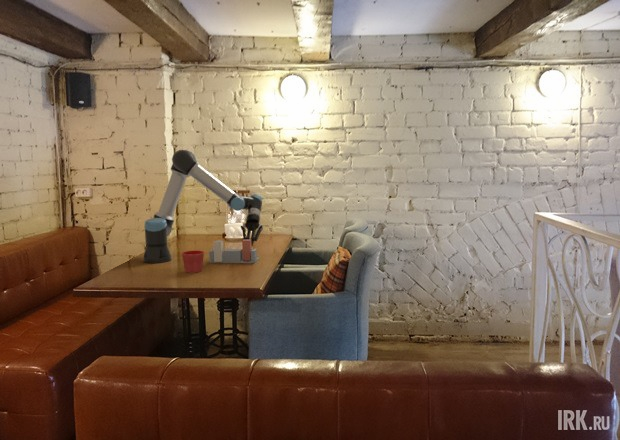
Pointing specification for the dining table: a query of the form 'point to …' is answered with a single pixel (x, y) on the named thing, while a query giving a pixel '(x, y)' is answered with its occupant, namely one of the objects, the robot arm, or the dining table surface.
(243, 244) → the red plug
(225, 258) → the slot block
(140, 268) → the dining table surface
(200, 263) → the flower pot
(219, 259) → the cream plug
